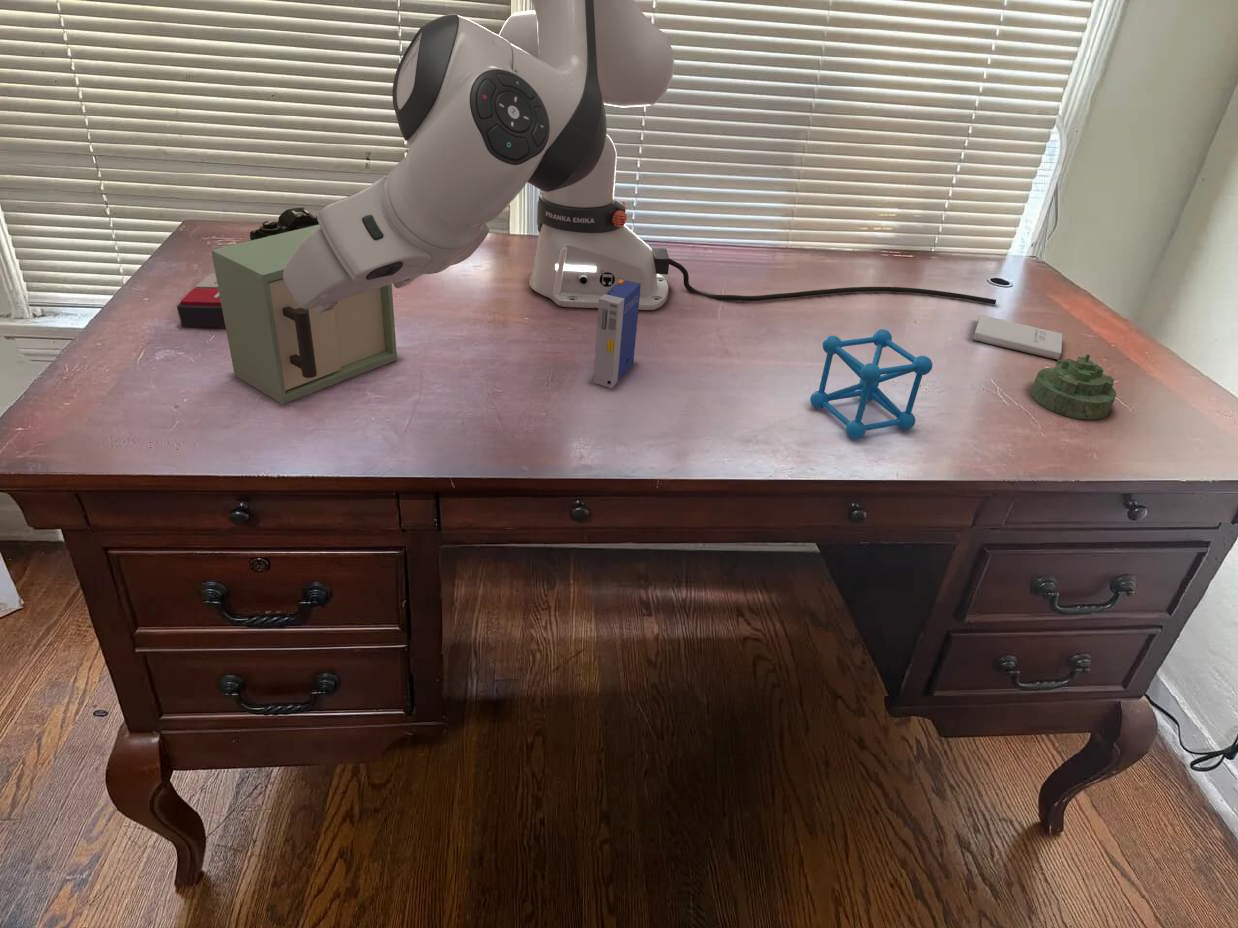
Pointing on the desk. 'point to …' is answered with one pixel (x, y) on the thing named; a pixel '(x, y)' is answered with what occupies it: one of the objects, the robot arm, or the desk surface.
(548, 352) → the desk surface
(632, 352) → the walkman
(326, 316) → the door
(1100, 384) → the decorative artifact
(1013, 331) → the hard drive
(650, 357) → the desk surface
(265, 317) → the cabinet
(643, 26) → the robot arm
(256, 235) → the film camera
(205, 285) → the red and black box
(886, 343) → the molecular structure
